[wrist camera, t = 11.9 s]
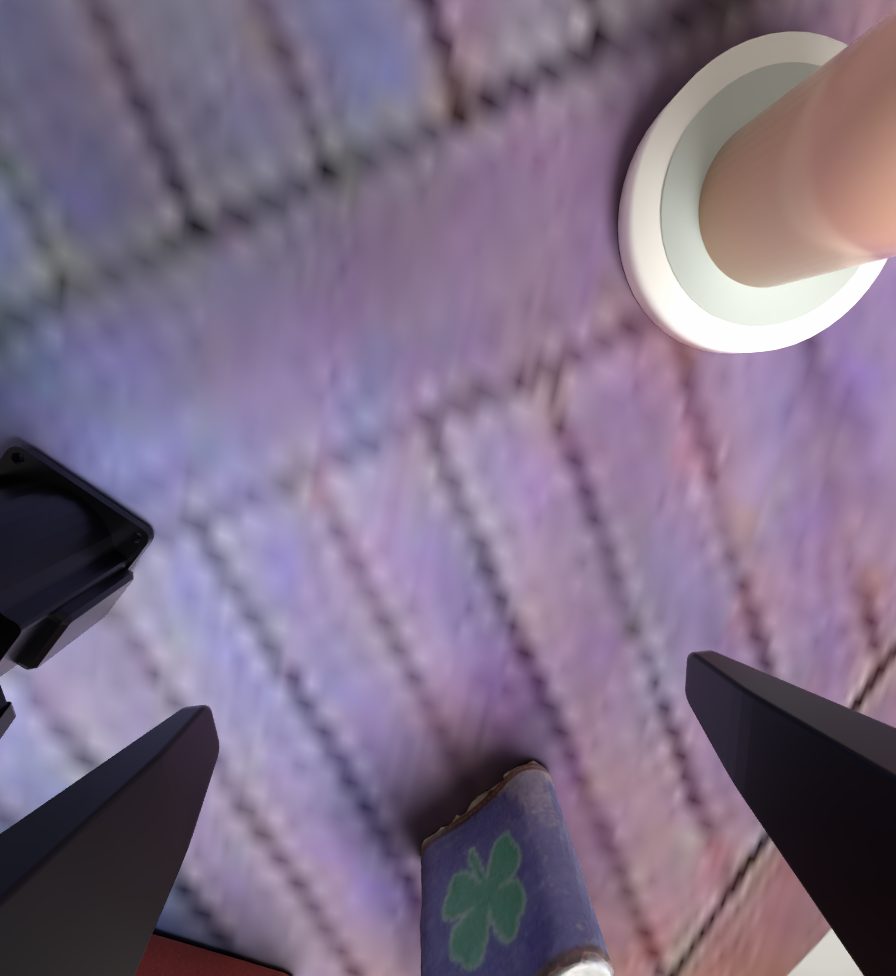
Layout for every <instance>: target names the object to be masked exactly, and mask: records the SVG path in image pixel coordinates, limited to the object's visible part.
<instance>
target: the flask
mask: <svg viewBox="0 0 896 976" xmlns="http://www.w3.org/2000/svg"><path fill="white" fill-rule="evenodd" d="M503 777H504V780H503V781H501V782H500V783H498V784H497V785H496V786H494V788H490V790H488V791H485V792H484V793H483V794H482V795H480V796H477V798H476V799H475V800H474V801H472V802H471V805H470V807H469V808H468V810H467V812H466V813H465V814H463V815H461V816H459V815H456V817H455V818H454V820H453V821H452V823H451V824H449V825H448V826H445V827H440V830H438V831H437V832H436V833H435V834H433V835H431V836H430V837H428V838H426V839H425V840H424V841H423V844H422V848H421V853H420V855H421V883H422V908H421V920H420V934H421V938H420V942H421V976H614V968H613V966H612V964H611V961H610V958H609V954H608V951H607V948H606V945H605V942H604V939H603V936H602V933H601V930H600V927H599V924H598V921H597V918H596V915H595V912H594V909H593V906H592V903H591V900H590V897H589V894H588V891H587V888H586V884H585V881H584V878H583V874H582V871H581V868H580V865H579V862H578V858H577V855H576V853H575V850H574V847H573V845H572V842H571V839H570V836H569V832H568V829H567V826H566V823H565V820H564V817H563V814H562V811H561V808H560V805H559V802H558V798H557V794H556V791H555V788H554V783H553V779H552V778H551V776H550V774H549V773H548V772H547V770H546V768H544V767H543V766H541V765H540V764H538V763H537V762H535V761H531V762H529V763H527V764H525V765H523V766H518V767H515V768H514V769H513V770H510V771H509V772H507V773H506V774H504V775H503Z"/></svg>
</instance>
